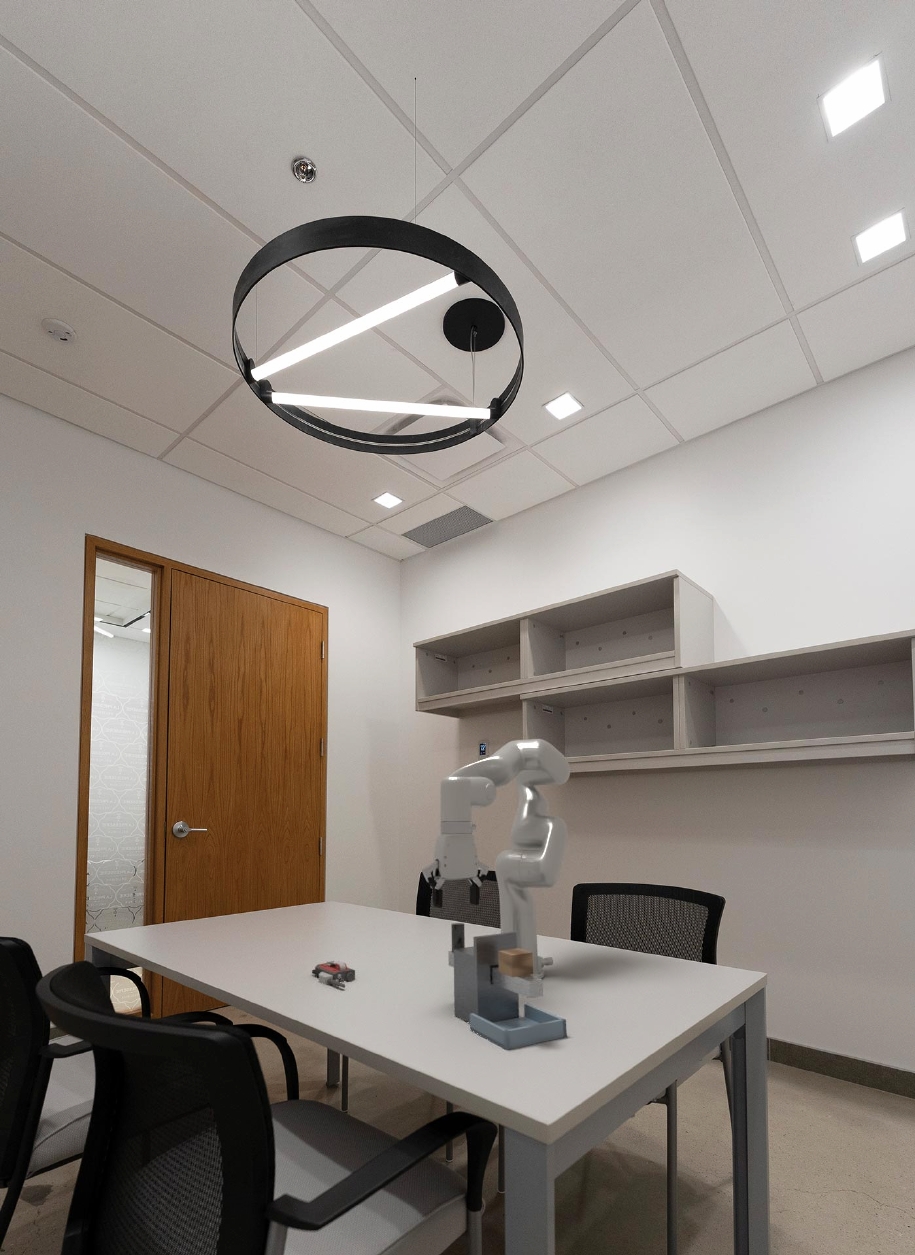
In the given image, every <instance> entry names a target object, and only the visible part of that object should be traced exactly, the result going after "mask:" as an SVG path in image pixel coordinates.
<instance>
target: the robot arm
mask: <svg viewBox="0 0 915 1255" xmlns="http://www.w3.org/2000/svg"><path fill="white" fill-rule="evenodd" d="M570 775H571V767H570V763H569V761H568V759H567V758H566V756H565V755H564V754H563V753H561V752H560V751H559V750H558V749H557V748H556V747H555V746H554V745H553V744H551V743H550V742H548V741H547V740H545V739H542V738H532V739H516V740H511V741H509V742H507V743H506V744H504V745H503V746H502V747H500V748H499V749H498V750H497V751H495V752H494V753H493V754H492V755H490V756H489V757H485V758H484V759H481V760H479V761H476V762H473V763H470V764H468V765H464V766H463V767H460V768H458V769H457V770H455V771H454V772H452V773H450V774H449V775H448V776H445V777H443V778H442V779H441V781H440V791H439V792H440V793H439V794H440V797H439V798H440V804H439V805H440V806H439V807H440V809H439V810H440V814H439V815H440V818H439V819H440V822H439V823H440V827H439V828H440V832H439V833H440V835H436V839H435V844H434V851H433V861H432V863H430V864H429V865H427V866H426V867H424V868H423V869H421V870H422V872H421V873H422V874H423V876H424V878H425V881H426V883H427V884H428V885H429V886H430V889H432V904H433V907H435V908H438V909H441V908H443V889H441V888H442V886H443V884H444V883H445V881H457V880H459V881H461V880H468V881H469V883H470V884H471V885H469V904H471V905H474V906H475V905H476V906H479V904H480V900H481V896H480V892H481V890H480V888H481V887H482V884H483V882H484V881H485V880H486V877H487V874H488V873H489V870H490V868H489V866H488V865H486V863H483V862H481V861H480V860H479V859H478V850H477V843H476V842H477V841H476V837H475V835H474V834H473V831H475V830H476V829H477V825H476V823H473V820H472V816H473V814H472V810H473V808H478V809H480V808H486V807H490V806H491V805H492V804H493V803H494V802H495V800H496V798H497V788H500V787H504V786H506V785H508V784H509V783H510V782H511V781H512V780H514V782H515V787H516V789H517V793H518V797H519V798H518V799H519V802H518V806H517V809H516V813H515V815H514V816H515V817H514V821H513V823H512V827H511V830H510V831H511V832H510V842H511V845H512V846H513V847H514V848H515V849H506V850H503V851H501V852H500V853H499V854H498V855H497V857H496V859H495V862H494V863H495V864H494V868H495V869H494V870H495V871H494V872H495V876H496V881H497V885H498V886H497V887H498V892H499V912H500V913H499V914H500V915H499V916H500V918H499V919H500V933H508V932H516V935H517V948H520V949H523V950H526V951H529V952H533V974H530V975H531V976H534V977H537V978H540V979H544V977H545V970H543V968H544V967H545V966H547V967H548V966H552V965H554V958H553V957H552V956H550V957H549V956H548V957H543V956H539V955H538V952H539V951H538V932H537V930H538V929H537V926H538V925H537V907H536V901H535V899H534V896H533V894H532V893H531V891H530V889H529V888H532V889H533V888H534V889H535V888H536V889H550V888H554V887H555V885H556V884H557V883H558V881H559V878H560V875H561V871H562V867H563V863H564V858H565V854H566V850H567V844H568V837H569V835H568V834H569V833H568V826H567V825H566V822H565V821H564V819H563V818H561V817H559V816H556V815H548V812H549V809H550V808H549V802H548V800H547V798H546V796H545V794H543V792H542V791H541V790H540V788H539V786H559V785H563V784H566V782H567V781H568V779H569V778H570ZM479 870H480V871H479ZM478 872H480V873H478ZM432 875H433V877H432Z"/></svg>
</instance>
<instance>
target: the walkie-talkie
mask: <svg viewBox="0 0 915 1255" xmlns="http://www.w3.org/2000/svg"><path fill="white" fill-rule="evenodd" d="M311 973H312V974H313V975H314V977H316V976H318V977H319V978H318V977H317V978H318V983H320V982H321V983H320V984H322V983H323V984H322V985H324V984H328V985H333V986H335V987H338V988H339V987H341V988H343V989H345V988H346V985H345V983H344V981H346V982H351V981H355V979H356V970H355V969H353V968H349V967H348V966H347V964H346V963H345V962H342V961H340V960H337V961H335V960H330V961H329V960H328V961H326V963H319V964H316V966H315V967H314V969H312V970H311ZM340 982H341V983H340Z"/></svg>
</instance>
